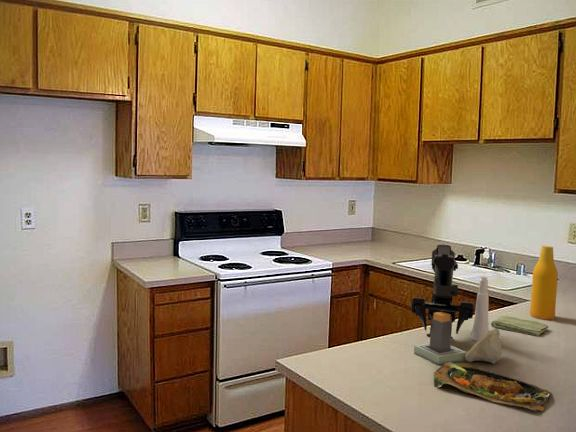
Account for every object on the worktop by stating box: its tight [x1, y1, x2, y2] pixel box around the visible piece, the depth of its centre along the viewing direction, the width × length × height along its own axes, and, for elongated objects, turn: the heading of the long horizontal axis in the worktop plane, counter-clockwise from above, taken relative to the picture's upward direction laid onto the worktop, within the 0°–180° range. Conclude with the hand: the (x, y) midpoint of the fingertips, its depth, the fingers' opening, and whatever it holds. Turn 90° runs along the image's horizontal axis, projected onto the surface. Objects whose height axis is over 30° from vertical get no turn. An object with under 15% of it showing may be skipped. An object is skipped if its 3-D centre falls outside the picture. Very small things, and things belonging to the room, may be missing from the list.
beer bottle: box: [529, 245, 559, 321], centre depth 215 cm, size 9×9×29 cm
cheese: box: [465, 328, 503, 364], centre depth 163 cm, size 15×7×15 cm
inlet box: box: [413, 342, 467, 366], centre depth 165 cm, size 11×11×3 cm
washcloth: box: [490, 315, 549, 337], centre depth 199 cm, size 13×18×3 cm
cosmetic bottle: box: [470, 275, 490, 342], centre depth 183 cm, size 6×6×22 cm
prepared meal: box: [433, 362, 552, 413], centre depth 141 cm, size 28×4×18 cm
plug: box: [429, 312, 453, 353], centre depth 164 cm, size 4×4×13 cm
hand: (441, 331), depth 163 cm, fingers open, 9 cm apart
